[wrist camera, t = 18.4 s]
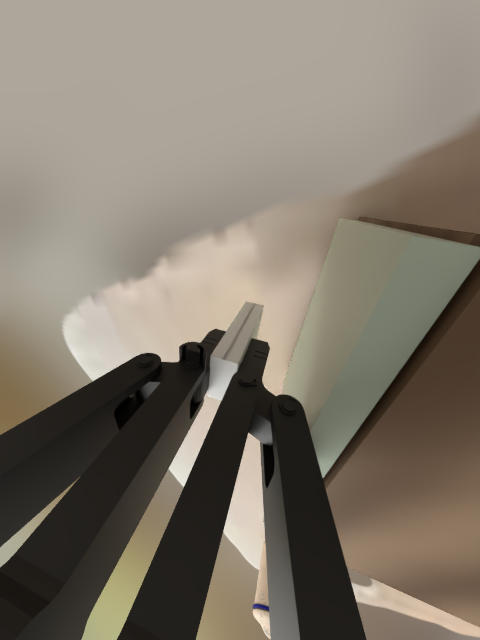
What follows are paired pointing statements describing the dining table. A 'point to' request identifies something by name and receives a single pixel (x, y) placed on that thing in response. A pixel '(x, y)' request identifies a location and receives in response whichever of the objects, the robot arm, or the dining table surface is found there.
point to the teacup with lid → (262, 596)
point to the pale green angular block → (368, 323)
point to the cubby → (421, 463)
